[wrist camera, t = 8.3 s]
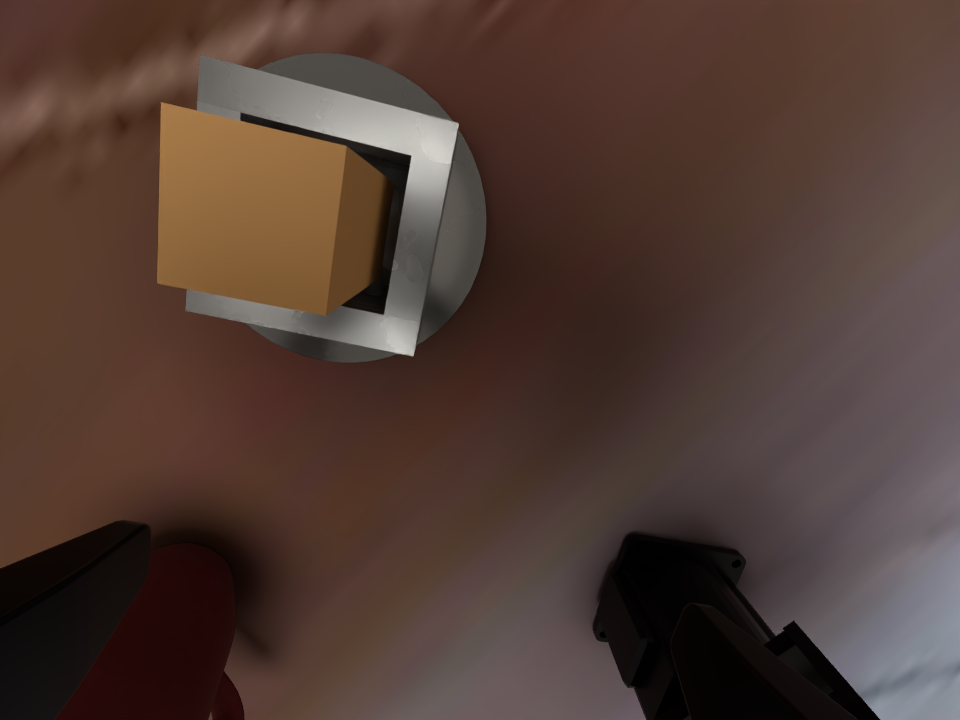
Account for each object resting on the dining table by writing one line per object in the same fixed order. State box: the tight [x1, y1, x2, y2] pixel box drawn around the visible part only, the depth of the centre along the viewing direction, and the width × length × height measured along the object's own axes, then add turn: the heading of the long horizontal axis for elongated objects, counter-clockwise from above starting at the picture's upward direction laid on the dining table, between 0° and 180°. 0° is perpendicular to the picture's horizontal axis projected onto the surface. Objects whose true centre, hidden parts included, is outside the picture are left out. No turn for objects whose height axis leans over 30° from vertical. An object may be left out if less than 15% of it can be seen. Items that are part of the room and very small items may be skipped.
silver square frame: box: [186, 53, 487, 363], centre depth 16 cm, size 11×11×4 cm
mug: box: [55, 543, 244, 720], centre depth 18 cm, size 11×8×10 cm
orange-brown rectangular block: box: [157, 102, 395, 316], centre depth 13 cm, size 4×4×8 cm
